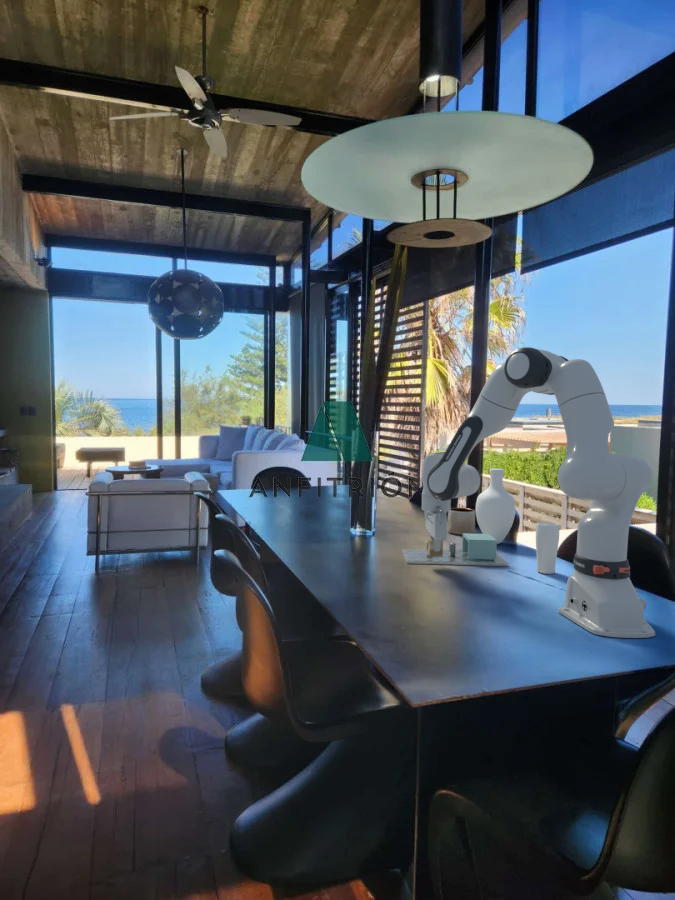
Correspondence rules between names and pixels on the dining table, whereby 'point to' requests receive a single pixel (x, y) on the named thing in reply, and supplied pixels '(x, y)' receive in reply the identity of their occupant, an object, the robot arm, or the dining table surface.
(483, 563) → the base
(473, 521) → the planter
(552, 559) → the drinking glass
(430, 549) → the block
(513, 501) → the vase
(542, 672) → the dining table surface
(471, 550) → the cover
